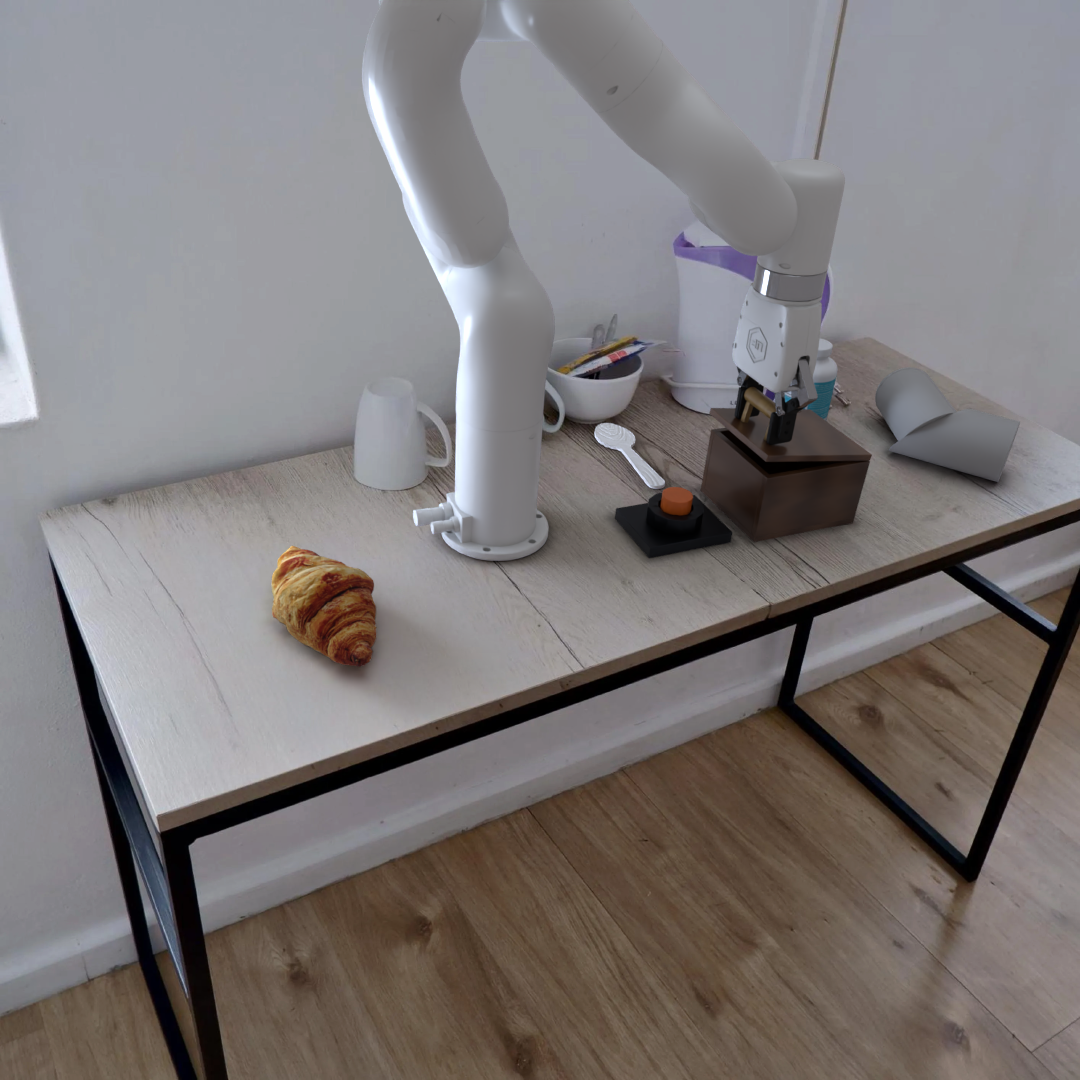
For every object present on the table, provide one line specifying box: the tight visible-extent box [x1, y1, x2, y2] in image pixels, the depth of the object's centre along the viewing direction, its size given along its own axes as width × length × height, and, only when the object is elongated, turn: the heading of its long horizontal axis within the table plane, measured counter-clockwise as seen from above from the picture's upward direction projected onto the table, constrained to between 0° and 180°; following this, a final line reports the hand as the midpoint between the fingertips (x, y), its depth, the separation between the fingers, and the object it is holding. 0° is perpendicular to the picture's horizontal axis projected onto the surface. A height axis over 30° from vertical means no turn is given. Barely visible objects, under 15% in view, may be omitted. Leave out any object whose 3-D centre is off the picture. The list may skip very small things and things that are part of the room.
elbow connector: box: [874, 366, 1021, 483], centre depth 141 cm, size 18×10×20 cm
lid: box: [708, 387, 873, 462], centre depth 121 cm, size 15×13×5 cm
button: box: [660, 486, 694, 516], centre depth 119 cm, size 4×4×2 cm
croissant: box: [271, 545, 377, 668], centre depth 102 cm, size 21×10×8 cm, turn 32°
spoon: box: [594, 422, 666, 490], centre depth 136 cm, size 5×18×1 cm, turn 21°
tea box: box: [700, 427, 871, 543], centre depth 125 cm, size 15×13×9 cm
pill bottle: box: [785, 337, 839, 421], centre depth 142 cm, size 8×7×14 cm
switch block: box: [614, 492, 733, 559], centre depth 120 cm, size 11×9×4 cm
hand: (762, 427), depth 119 cm, fingers closed on lid, 6 cm apart
